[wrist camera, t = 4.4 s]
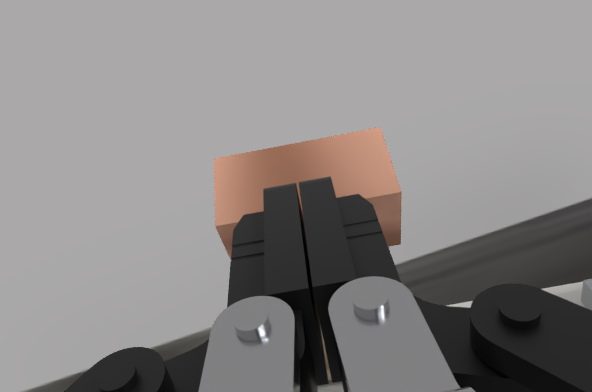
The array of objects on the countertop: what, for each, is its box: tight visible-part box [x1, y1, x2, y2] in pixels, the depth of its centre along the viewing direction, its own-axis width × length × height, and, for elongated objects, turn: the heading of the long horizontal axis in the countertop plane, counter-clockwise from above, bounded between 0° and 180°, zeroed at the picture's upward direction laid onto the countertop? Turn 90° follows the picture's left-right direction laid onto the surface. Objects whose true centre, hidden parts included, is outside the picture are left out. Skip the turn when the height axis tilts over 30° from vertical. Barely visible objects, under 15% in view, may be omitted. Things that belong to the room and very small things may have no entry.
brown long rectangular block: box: [214, 128, 401, 382], centre depth 23 cm, size 6×3×17 cm, turn 94°
